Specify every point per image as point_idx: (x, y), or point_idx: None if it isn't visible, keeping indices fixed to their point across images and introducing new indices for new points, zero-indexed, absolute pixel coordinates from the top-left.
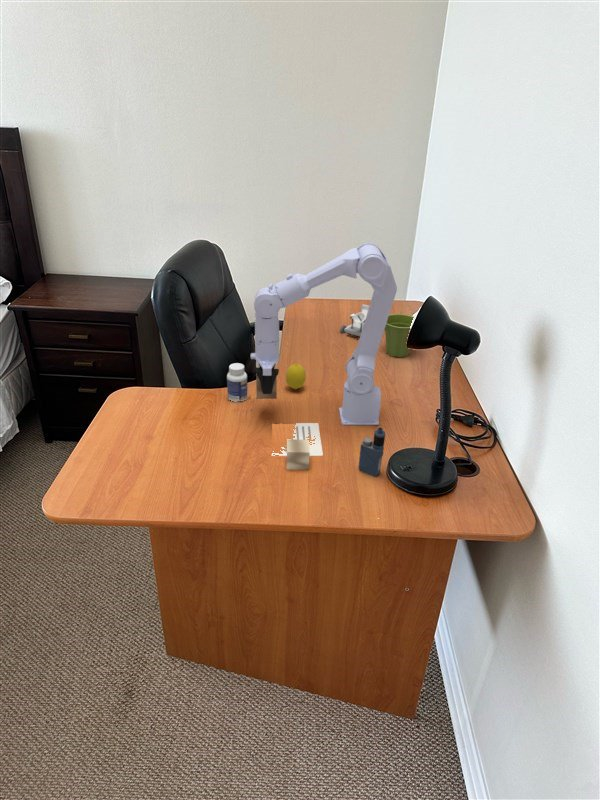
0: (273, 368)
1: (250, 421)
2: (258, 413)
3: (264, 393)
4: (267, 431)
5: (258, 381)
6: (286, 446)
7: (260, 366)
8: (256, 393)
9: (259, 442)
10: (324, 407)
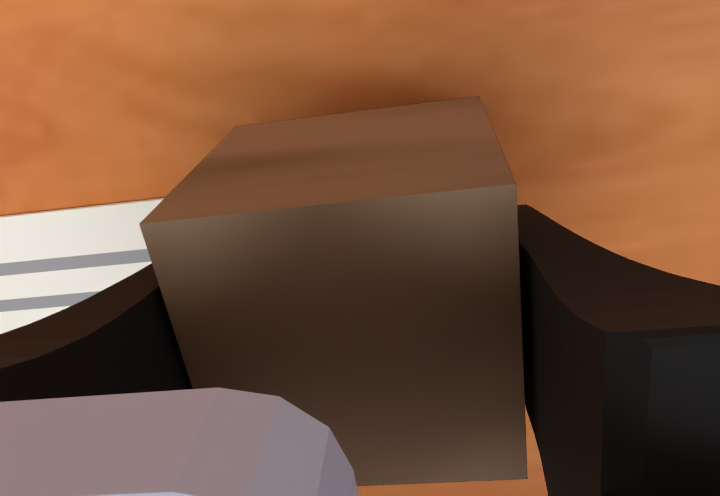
0: (547, 486)
1: (271, 13)
2: (411, 65)
3: None
4: (163, 171)
5: (152, 256)
6: (23, 306)
7: (551, 312)
8: (215, 147)
9: (10, 131)
10: (529, 487)
